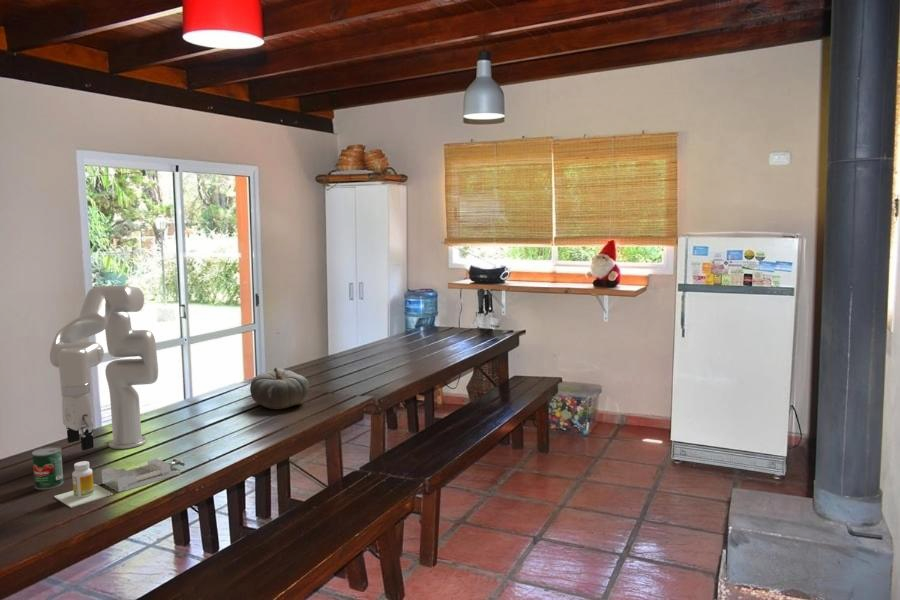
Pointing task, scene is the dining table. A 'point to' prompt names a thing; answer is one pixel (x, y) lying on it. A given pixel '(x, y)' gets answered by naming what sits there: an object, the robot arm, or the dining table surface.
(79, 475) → the supplement bottle
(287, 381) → the gourd
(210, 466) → the dining table surface
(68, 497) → the pad
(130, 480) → the vise
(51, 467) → the canned tomato
